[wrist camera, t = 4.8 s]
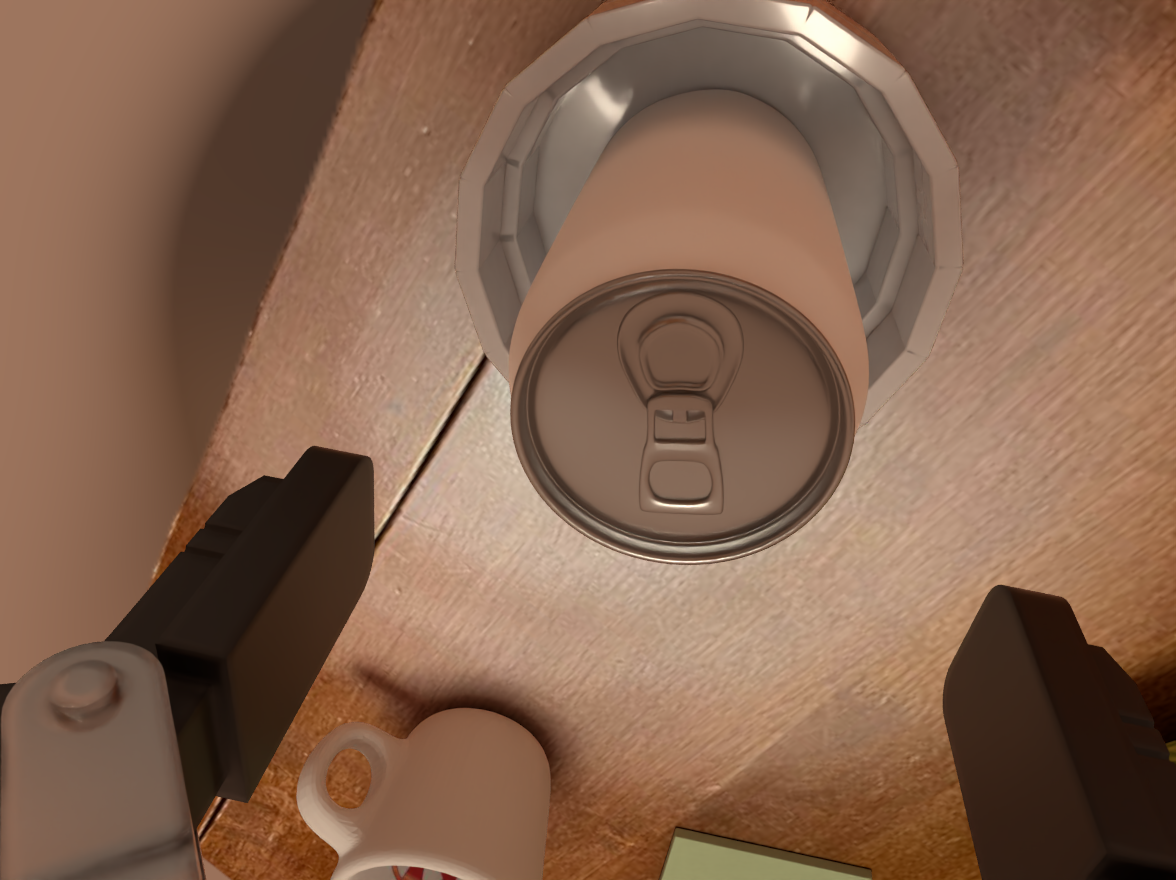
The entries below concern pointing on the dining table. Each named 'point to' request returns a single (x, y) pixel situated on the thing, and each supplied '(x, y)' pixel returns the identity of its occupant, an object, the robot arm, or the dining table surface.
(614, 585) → the dining table surface
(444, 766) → the cup
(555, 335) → the can
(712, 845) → the mat
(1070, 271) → the dining table surface
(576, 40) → the white round dish
